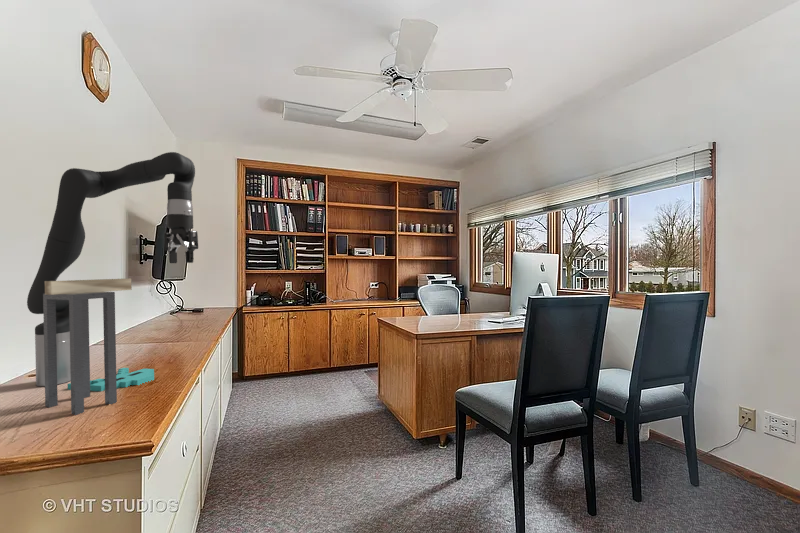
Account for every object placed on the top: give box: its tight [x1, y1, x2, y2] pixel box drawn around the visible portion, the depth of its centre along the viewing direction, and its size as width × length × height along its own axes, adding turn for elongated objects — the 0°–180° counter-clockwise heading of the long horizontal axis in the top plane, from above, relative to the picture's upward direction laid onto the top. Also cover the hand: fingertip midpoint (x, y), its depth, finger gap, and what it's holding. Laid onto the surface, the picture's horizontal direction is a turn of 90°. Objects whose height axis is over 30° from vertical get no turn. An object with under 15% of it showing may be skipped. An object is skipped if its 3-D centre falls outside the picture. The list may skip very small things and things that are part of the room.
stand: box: [42, 291, 118, 416], centre depth 109 cm, size 16×10×32 cm, turn 64°
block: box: [45, 278, 132, 295], centre depth 112 cm, size 4×20×4 cm, turn 154°
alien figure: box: [67, 367, 155, 392], centre depth 131 cm, size 20×2×20 cm
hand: (181, 263), depth 127 cm, fingers open, 8 cm apart
